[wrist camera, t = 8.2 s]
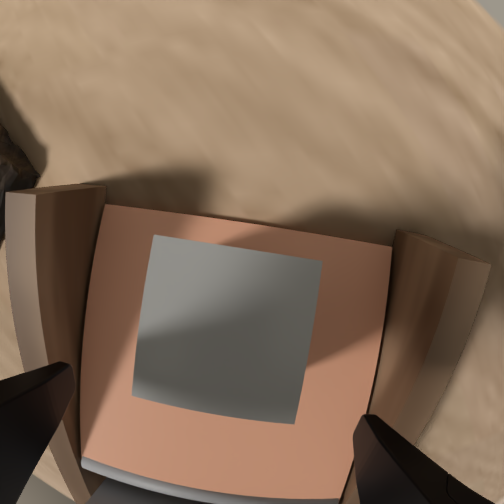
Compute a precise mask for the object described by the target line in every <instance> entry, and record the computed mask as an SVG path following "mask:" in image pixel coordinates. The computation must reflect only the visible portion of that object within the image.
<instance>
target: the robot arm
mask: <svg viewBox="0 0 504 504" xmlns="http://www.w3.org/2000/svg"><path fill="white" fill-rule="evenodd" d="M75 388H76V384H75V378H74V373H73V368H72V366H71V365H70V364H68V363H66V362H63V361H58V362H55V363H52V364H49V365H47V366H44V367H41V368H38V369H34V370H31V371H28V372H25V373H22V374H19V375H16V376H13V377H10V378H7V379H4V380H0V504H16V502H17V501H18V499H19V497H20V495H21V493H22V491H23V489H24V487H25V485H26V483H27V481H28V480H29V477H30V476H31V474H32V472H33V470H34V469H35V467H36V465H37V463H38V461H39V460H40V458H41V456H42V454H43V453H44V451H45V449H46V447H47V446H48V444H49V442H50V440H51V439H52V437H53V435H54V434H55V432H56V430H57V428H58V426H59V425H60V422H61V420H62V418H63V416H64V414H65V411H66V409H67V407H68V405H69V403H70V400H71V398H72V396H73V394H74V392H75ZM353 451H354V465H355V478H356V484H357V490H358V495H359V500H360V504H495V503H493V502H491V501H490V500H488V499H486V498H484V497H483V496H481V495H479V494H478V493H476V492H475V491H473V490H471V489H470V488H468V487H467V486H465V485H464V484H463V483H461V482H460V481H458V480H457V479H456V478H454V477H453V476H452V475H451V474H448V472H447V471H445V470H444V469H443V468H441V467H440V466H439V465H438V464H436V463H435V462H434V461H432V460H431V459H430V458H429V457H427V456H426V455H425V454H424V453H422V452H421V451H420V450H419V449H417V448H416V447H415V446H414V445H412V444H411V443H410V442H409V441H408V440H406V439H405V438H404V437H403V436H401V435H400V434H399V433H398V432H397V431H395V430H394V429H393V428H392V427H390V426H389V425H388V424H387V423H386V422H384V421H383V420H382V419H381V418H380V417H378V416H377V415H376V414H363V415H362V416H361V418H360V420H359V422H358V424H357V426H356V428H355V430H354V433H353Z"/></svg>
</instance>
